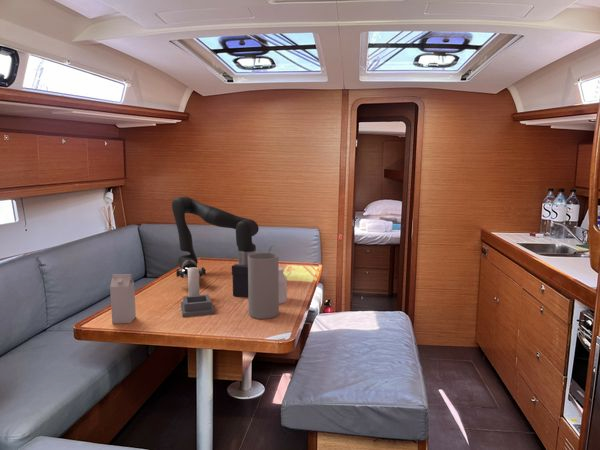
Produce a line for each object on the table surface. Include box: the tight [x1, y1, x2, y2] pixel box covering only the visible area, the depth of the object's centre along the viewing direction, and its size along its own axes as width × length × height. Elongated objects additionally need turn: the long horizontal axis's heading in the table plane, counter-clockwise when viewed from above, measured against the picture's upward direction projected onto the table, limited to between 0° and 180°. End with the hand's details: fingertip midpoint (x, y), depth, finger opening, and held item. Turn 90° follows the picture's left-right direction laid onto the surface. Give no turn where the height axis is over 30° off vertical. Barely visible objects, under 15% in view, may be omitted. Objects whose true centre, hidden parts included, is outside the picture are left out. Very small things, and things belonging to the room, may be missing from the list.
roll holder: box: [180, 294, 216, 318], centre depth 189 cm, size 13×16×4 cm
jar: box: [279, 266, 288, 305], centre depth 200 cm, size 12×10×15 cm
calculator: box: [231, 263, 249, 299], centre depth 206 cm, size 11×4×15 cm, turn 71°
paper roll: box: [187, 267, 201, 296], centre depth 204 cm, size 5×5×14 cm
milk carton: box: [109, 273, 137, 324], centre depth 174 cm, size 7×7×19 cm
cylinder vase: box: [247, 252, 280, 320], centre depth 181 cm, size 12×12×25 cm
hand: (191, 275), depth 214 cm, fingers open, 8 cm apart
